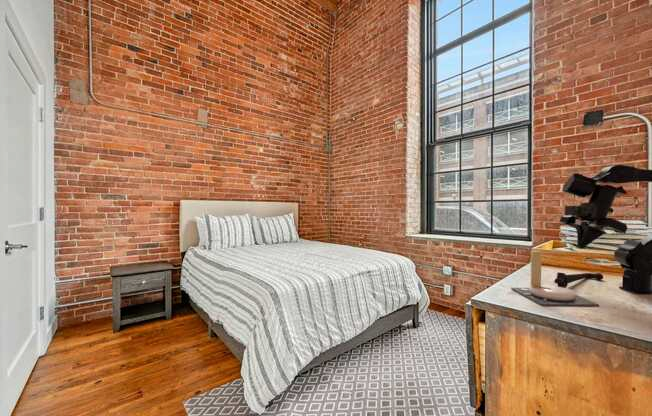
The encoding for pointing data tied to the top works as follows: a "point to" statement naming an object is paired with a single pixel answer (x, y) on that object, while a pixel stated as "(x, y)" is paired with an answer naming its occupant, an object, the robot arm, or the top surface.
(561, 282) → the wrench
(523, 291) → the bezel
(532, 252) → the beige stand
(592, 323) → the top surface
